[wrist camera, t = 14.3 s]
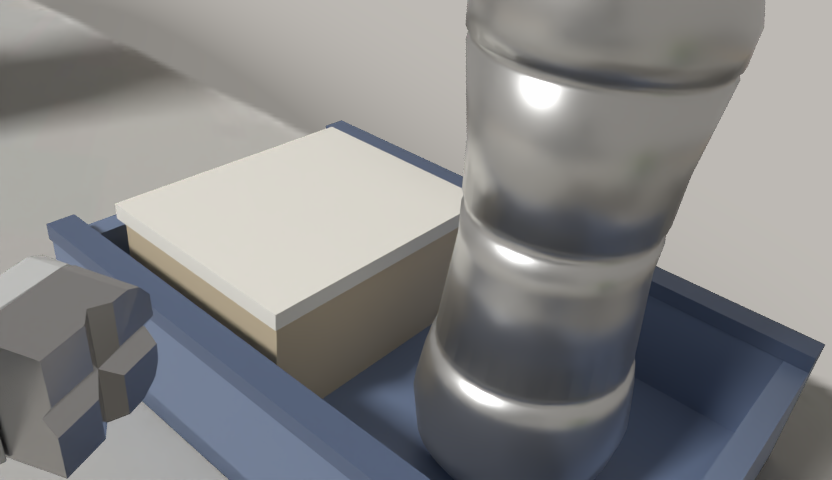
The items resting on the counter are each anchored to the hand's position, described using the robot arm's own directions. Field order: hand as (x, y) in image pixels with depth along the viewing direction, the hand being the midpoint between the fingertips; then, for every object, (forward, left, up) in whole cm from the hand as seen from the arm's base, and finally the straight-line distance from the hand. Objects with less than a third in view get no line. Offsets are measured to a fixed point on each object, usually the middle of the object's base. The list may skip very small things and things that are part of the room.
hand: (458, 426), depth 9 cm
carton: (-17, +5, -12) cm, 22 cm away
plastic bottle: (-8, +9, -13) cm, 17 cm away
